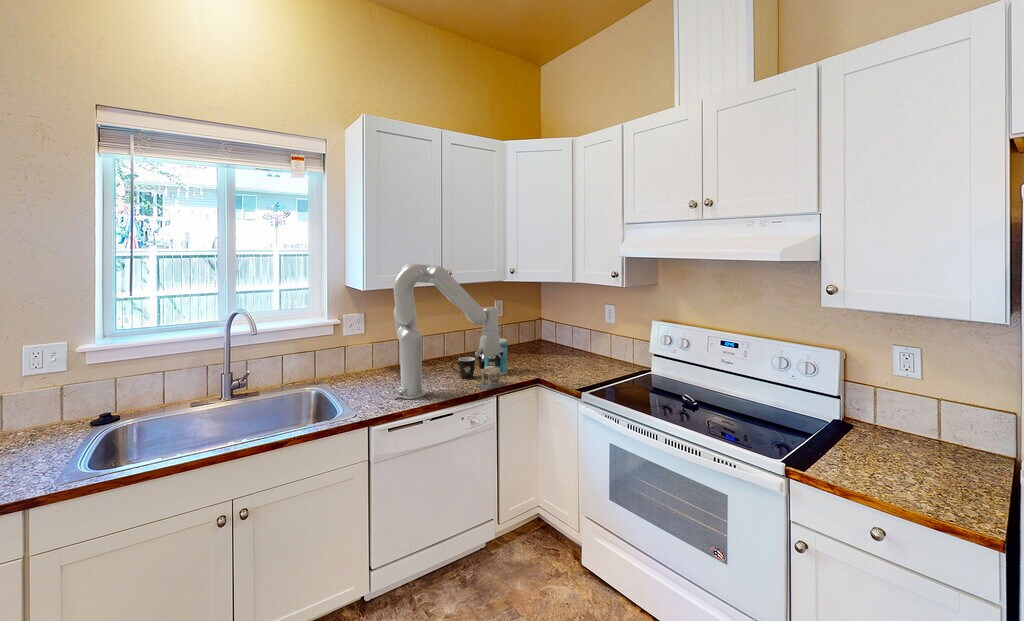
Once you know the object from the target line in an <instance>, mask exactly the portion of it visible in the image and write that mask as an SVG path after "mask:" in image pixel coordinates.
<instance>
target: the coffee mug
mask: <svg viewBox="0 0 1024 621" xmlns="http://www.w3.org/2000/svg"><path fill="white" fill-rule="evenodd" d="M453 364H457V365H458V366H459V370H457V369H456V368H454V367H453ZM475 364H476V358H475V357H473V356H463V357H459V358H458V361H452V363H451V365H450V366H451V369H453V370H454V371H455V372H457V373H459V375H460V379H461V380H465V379H468V380H472V379H474V375H475V374H474V373H475V366H476V365H475Z"/></svg>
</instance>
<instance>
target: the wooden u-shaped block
mask: <svg viewBox="0 0 1024 621" xmlns="http://www.w3.org/2000/svg"><path fill="white" fill-rule="evenodd" d="M496 373H497V376H496V379H494V376H493V374H496ZM487 374H488V375H487ZM486 375H487V377H488V378H487V379H488V380H487V382H488V386H489V387H492V383H494V382H497V385H499V384H500V382H501V376H500V368H497V367H494V366H489V367H485V366H484V369H481V383H482V384H485V382H486Z"/></svg>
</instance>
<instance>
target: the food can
mask: <svg viewBox="0 0 1024 621" xmlns="http://www.w3.org/2000/svg"><path fill="white" fill-rule="evenodd" d="M499 339H500V346H501V347H503V348H504V352H503V355H502V356H501V358H500V366H496V365H495V357H496V356H489V357H485V359H484V362H485V364H484V367H489V366H494V367H497V368H500V375H501V376H504V374H505V375H507V373H508V340H507V339H506V338H501V337H499ZM486 375H487V376H488V374H486ZM493 377H497V373H496V374H493Z"/></svg>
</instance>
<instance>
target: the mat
mask: <svg viewBox="0 0 1024 621" xmlns="http://www.w3.org/2000/svg"><path fill="white" fill-rule="evenodd" d="M503 385H506V386H507V383H505V382H502V381H500V384H499V385H497V382H494V383H492V387H489V386H488V381H485V384H482V382H481V383H477V384H475V387H477V386H478V387H477V388H479V389H482V388H483V389H482V390H485V389H486V390H485V391H490V390H494V389H496V388H497V387H498V388H501V387H500V386H502V387H504V386H503ZM493 388H494V389H493ZM489 389H490V390H489Z"/></svg>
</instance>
